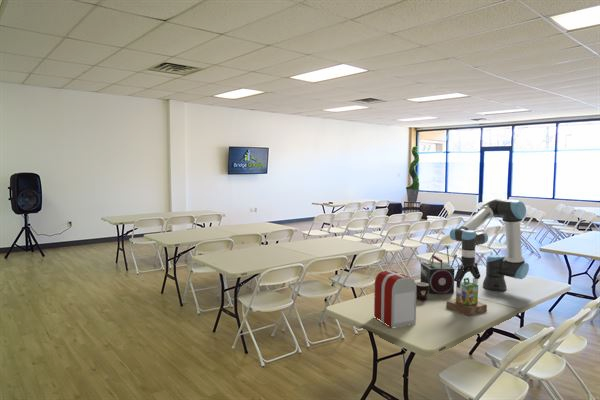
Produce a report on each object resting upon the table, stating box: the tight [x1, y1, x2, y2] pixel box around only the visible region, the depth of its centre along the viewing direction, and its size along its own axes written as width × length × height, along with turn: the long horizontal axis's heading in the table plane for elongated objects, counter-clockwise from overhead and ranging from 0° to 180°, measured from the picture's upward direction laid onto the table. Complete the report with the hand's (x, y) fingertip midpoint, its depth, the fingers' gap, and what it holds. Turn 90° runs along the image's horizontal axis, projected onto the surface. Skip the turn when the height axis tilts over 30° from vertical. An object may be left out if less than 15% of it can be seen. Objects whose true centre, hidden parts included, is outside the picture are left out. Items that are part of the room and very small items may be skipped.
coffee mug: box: [415, 281, 429, 302], centre depth 256 cm, size 12×9×10 cm
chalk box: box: [455, 277, 479, 306], centre depth 238 cm, size 9×9×15 cm
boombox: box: [419, 245, 458, 295], centre depth 274 cm, size 18×21×30 cm
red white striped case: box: [373, 269, 417, 329], centre depth 220 cm, size 16×18×27 cm
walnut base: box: [445, 298, 488, 317], centre depth 238 cm, size 16×16×4 cm
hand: (467, 290), depth 238 cm, fingers open, 13 cm apart
